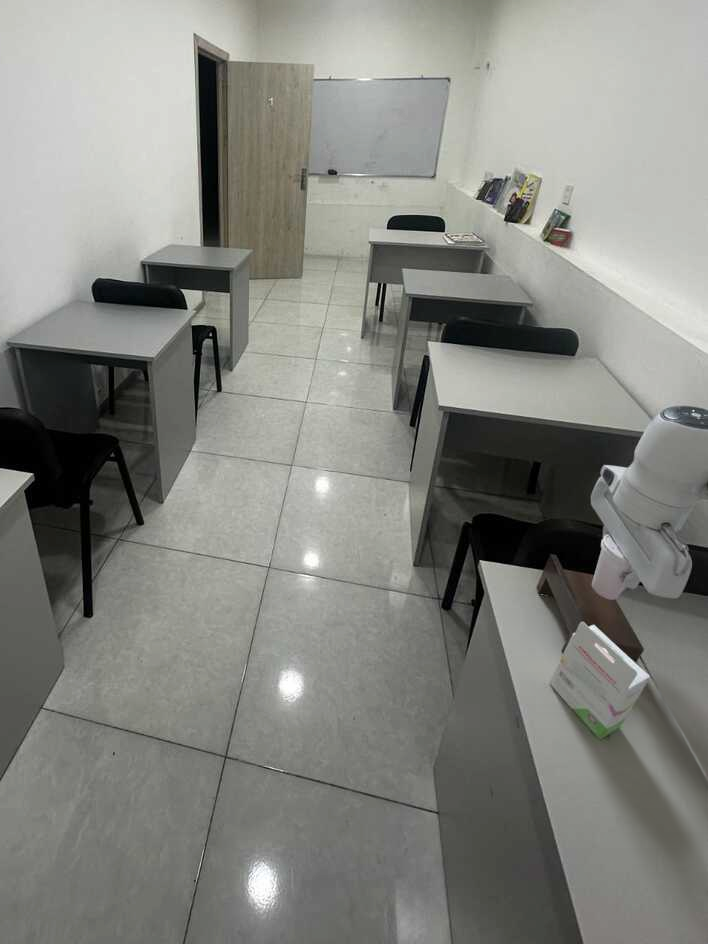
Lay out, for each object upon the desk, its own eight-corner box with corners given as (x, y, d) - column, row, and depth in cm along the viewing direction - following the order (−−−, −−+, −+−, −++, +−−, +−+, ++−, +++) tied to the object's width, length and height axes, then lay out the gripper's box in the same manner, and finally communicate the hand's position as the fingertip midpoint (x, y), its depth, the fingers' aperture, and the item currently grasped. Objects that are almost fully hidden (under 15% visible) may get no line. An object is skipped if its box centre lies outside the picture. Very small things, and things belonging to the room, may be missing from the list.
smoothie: (578, 588, 81) (608, 526, 75) (587, 567, 85) (617, 507, 80) (622, 614, 77) (658, 551, 71) (630, 591, 81) (665, 529, 76)
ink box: (621, 728, 71) (663, 664, 65) (599, 741, 69) (639, 676, 63) (568, 671, 78) (601, 608, 72) (546, 681, 76) (578, 618, 70)
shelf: (591, 599, 91) (608, 564, 87) (629, 673, 78) (652, 636, 75) (535, 588, 92) (550, 553, 89) (564, 659, 80) (583, 622, 76)
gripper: (720, 560, 64) (675, 629, 69) (637, 465, 82) (607, 526, 88) (668, 550, 64) (628, 620, 70) (598, 459, 83) (571, 519, 89)
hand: (616, 567), depth 79 cm, fingers closed on smoothie, 5 cm apart
